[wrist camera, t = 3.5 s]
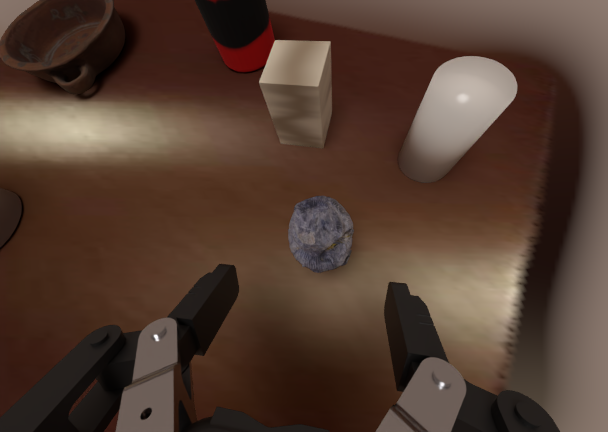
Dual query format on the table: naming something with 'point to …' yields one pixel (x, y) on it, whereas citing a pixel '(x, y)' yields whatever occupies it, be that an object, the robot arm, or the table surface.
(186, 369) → the robot arm
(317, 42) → the birch block
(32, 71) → the dish
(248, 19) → the soda can
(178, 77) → the table surface
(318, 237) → the fossil stone
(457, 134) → the ceramic cylinder
